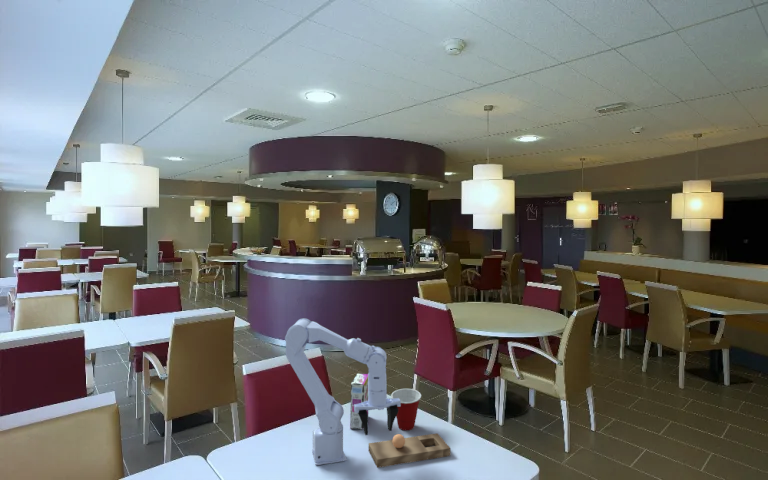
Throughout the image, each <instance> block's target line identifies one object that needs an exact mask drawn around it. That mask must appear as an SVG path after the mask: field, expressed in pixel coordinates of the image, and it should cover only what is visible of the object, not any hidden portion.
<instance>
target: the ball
mask: <svg viewBox="0 0 768 480" xmlns="http://www.w3.org/2000/svg"><path fill="white" fill-rule="evenodd" d="M405 438H406V437H404V435H402V434H399V433H397V434H394V435H393V437H392V439H391V440H392V442H393V445H394V446H395V447H396V448H401V447H403V446H404V444H405Z"/></svg>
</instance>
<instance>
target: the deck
mask: <svg viewBox="0 0 768 480" xmlns="http://www.w3.org/2000/svg"><path fill="white" fill-rule="evenodd" d="M404 438H405V444H404V446H403V447H401V448H396V447H395V446H394V445H393V442H392V440H393V439H388V440H382V441H381V440H380V441H376V442H368V452H369V455H370V457H371V458H372V461H373V463H374V464H375V466H376V468H378V469H379V468H385V467H391V466H395V465H403V464H409V463H414V462H415V463H416V462H421V461H422V462H423V461H427V460H434V459H440V458H445V457H450V456H451V447H450V445H448V444H447V443H446V441H445V440H444V439H443V438H442V437H441V435H440V434H439V433H431V434H423V435H415V436H411V437H410V436H409V437H404Z"/></svg>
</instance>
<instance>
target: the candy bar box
mask: <svg viewBox="0 0 768 480" xmlns="http://www.w3.org/2000/svg"><path fill="white" fill-rule="evenodd" d="M365 401H368V373H356V375H355V377H354V378H353V379H352V381H351V383H350V418H349V419H350V422H349V423H350V426H349V428H350V429H351V430H361V431H362V430H363V431H364V429H363V424H362V421H361V419H360V416H359V414H358V413H355V411H354V404H359V403H362V402H365ZM366 412H367V415H368V416H369V410H367V411H366Z"/></svg>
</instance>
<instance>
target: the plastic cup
mask: <svg viewBox="0 0 768 480" xmlns="http://www.w3.org/2000/svg"><path fill="white" fill-rule="evenodd" d="M390 396H391V399H395V398H399V399H400V401H401V406H400V407H397V408H398V414H397V415H396V417H395V419H396V422H397V423H396V424H397V426H398V428H399V429H400V430H402V431H412V430H414V428H415V425H416V420H417V416H418V415H417V414H418V409H419V404H420V400H421V398H422V394H421V392H419V390H416V389H414V388H400V389H396V390H394V391H393V392H392V393H391V394H390Z"/></svg>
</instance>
